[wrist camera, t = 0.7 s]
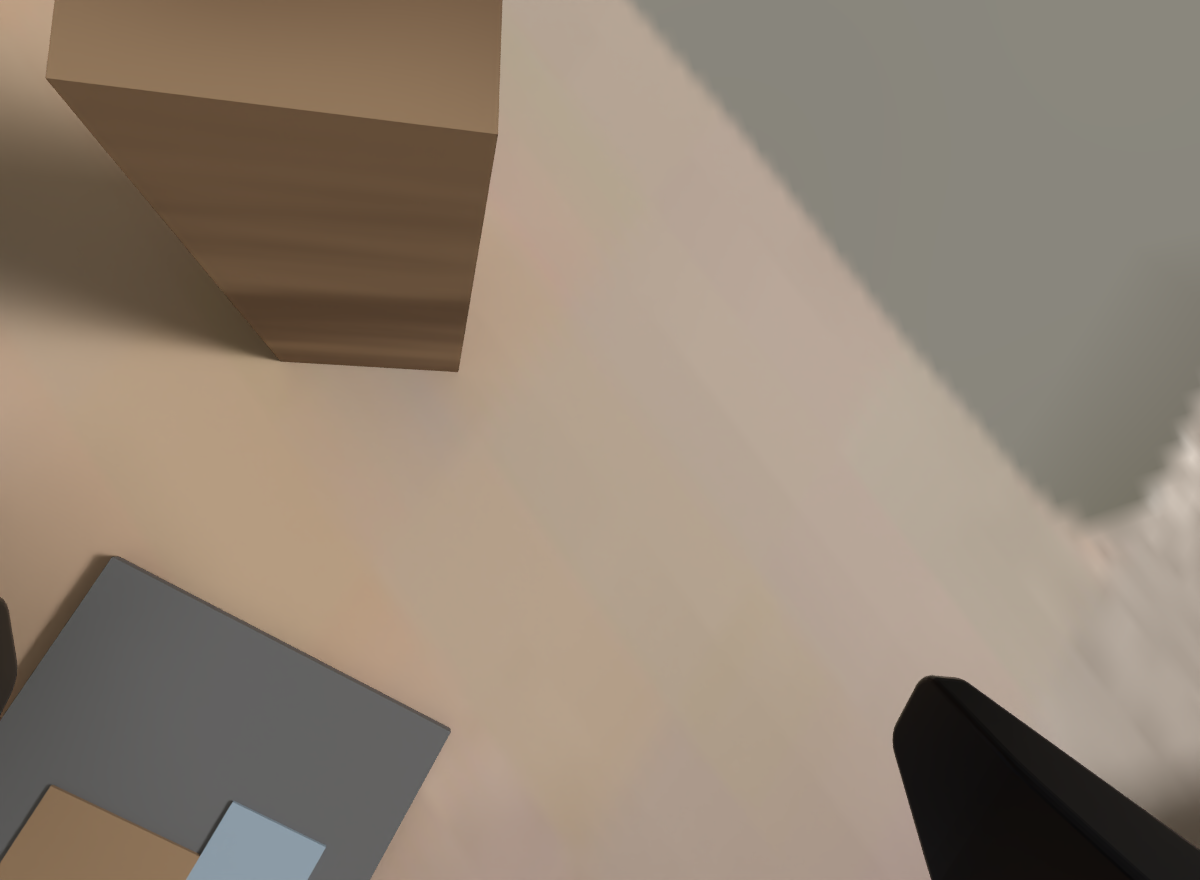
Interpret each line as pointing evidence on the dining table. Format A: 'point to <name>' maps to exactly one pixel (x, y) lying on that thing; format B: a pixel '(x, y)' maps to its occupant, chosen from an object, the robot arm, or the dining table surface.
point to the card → (198, 750)
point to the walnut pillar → (305, 155)
